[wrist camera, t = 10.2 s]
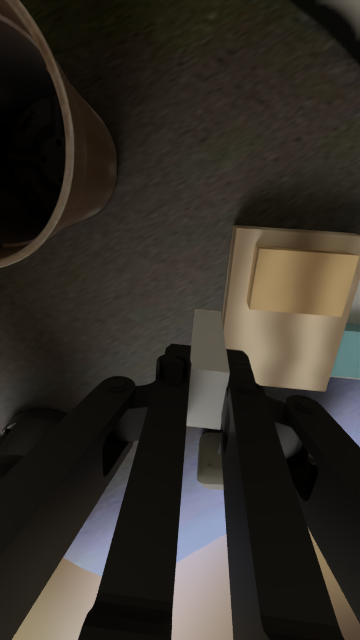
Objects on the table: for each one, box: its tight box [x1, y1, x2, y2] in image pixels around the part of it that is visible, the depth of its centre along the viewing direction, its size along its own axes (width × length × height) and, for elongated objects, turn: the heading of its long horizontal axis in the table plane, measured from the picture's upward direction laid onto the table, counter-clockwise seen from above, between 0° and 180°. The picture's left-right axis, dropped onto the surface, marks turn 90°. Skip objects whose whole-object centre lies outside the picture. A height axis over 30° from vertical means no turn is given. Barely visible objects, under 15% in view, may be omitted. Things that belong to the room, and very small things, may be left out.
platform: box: [222, 225, 360, 392], centre depth 33 cm, size 13×18×4 cm
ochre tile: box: [246, 245, 359, 317], centre depth 28 cm, size 9×6×2 cm, turn 87°
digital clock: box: [197, 433, 314, 490], centre depth 37 cm, size 16×9×11 cm, turn 81°
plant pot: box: [0, 0, 117, 268], centre depth 24 cm, size 16×16×16 cm
